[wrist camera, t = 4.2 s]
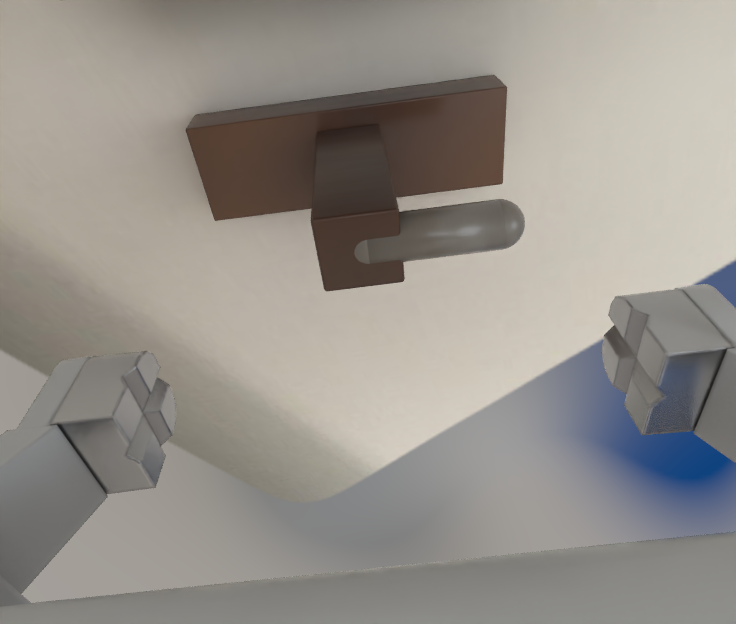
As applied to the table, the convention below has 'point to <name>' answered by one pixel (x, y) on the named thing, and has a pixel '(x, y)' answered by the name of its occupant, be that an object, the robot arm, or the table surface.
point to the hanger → (366, 173)
